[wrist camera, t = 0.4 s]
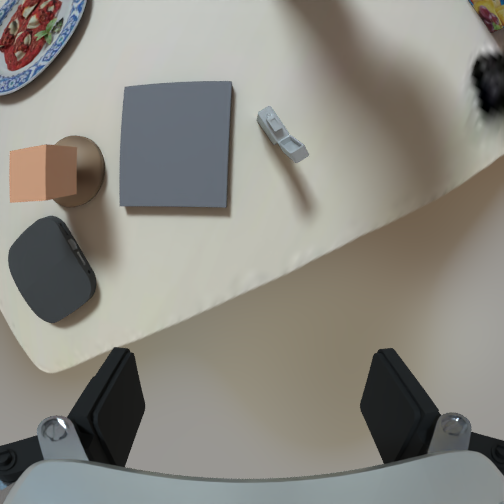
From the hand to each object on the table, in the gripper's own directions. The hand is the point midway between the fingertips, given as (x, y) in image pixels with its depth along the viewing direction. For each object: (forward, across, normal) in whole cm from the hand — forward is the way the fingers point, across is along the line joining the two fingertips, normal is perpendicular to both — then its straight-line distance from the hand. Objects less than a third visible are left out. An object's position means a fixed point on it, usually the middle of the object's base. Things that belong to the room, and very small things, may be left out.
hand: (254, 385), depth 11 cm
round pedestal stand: (+30, +25, -9) cm, 40 cm away
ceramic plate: (+30, +38, -36) cm, 61 cm away
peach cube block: (+26, +25, -9) cm, 36 cm away
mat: (+30, +10, -11) cm, 33 cm away
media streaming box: (+31, +31, +6) cm, 44 cm away
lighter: (+30, -4, -12) cm, 33 cm away
